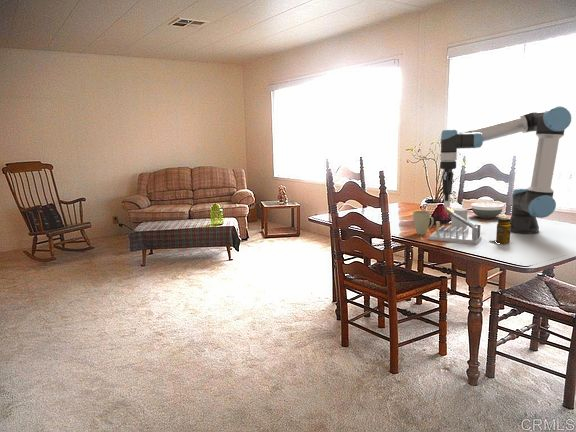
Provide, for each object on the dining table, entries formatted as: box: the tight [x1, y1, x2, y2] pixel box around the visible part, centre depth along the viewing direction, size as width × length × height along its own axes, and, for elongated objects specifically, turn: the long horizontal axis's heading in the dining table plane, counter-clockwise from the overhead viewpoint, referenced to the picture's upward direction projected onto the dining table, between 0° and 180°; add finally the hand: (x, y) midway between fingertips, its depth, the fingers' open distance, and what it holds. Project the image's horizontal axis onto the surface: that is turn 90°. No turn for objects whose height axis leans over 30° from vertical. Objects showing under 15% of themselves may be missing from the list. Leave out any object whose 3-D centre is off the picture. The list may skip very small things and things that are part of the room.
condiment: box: [488, 217, 513, 246], centre depth 202 cm, size 7×8×12 cm
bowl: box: [470, 201, 505, 220], centre depth 260 cm, size 19×19×8 cm
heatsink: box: [428, 221, 483, 245], centre depth 212 cm, size 23×12×8 cm, turn 55°
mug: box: [412, 210, 435, 235], centre depth 226 cm, size 11×10×12 cm
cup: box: [450, 207, 468, 233], centre depth 230 cm, size 8×8×12 cm
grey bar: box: [442, 207, 481, 230], centre depth 209 cm, size 19×4×2 cm
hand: (446, 206), depth 212 cm, fingers closed
